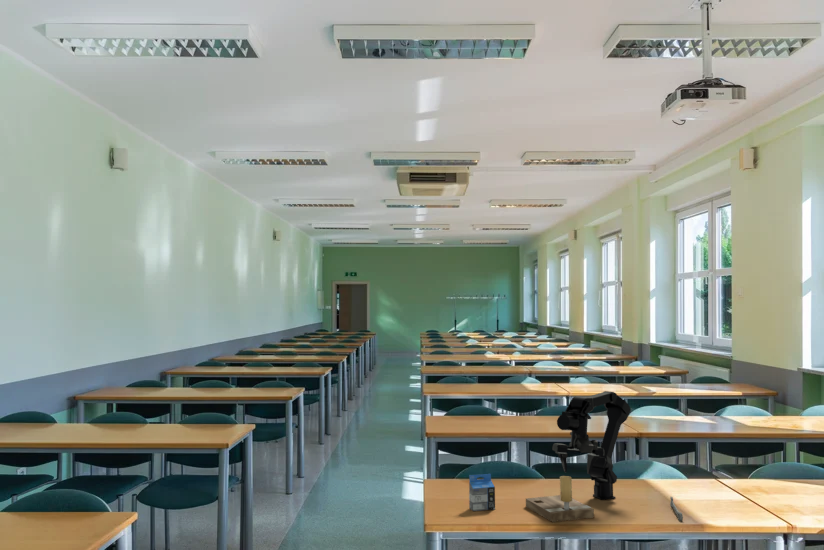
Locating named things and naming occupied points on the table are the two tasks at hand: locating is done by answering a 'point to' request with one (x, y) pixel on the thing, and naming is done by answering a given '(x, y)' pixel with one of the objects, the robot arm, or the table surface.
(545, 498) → the subfloor panel
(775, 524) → the table surface
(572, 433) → the robot arm
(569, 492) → the tan handled tool
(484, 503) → the ink cartridge box
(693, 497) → the table surface
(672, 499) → the combination wrench
